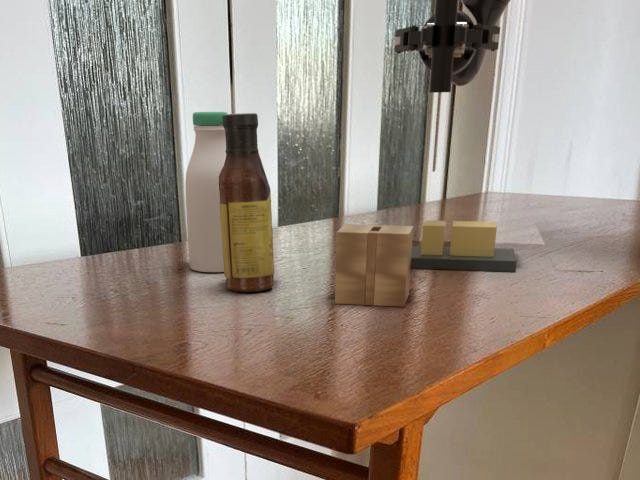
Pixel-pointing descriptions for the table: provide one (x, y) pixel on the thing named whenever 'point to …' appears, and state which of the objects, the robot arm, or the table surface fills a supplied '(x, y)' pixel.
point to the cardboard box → (373, 265)
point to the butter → (462, 248)
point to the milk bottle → (205, 193)
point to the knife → (442, 55)
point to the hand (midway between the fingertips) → (443, 34)
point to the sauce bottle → (245, 209)
